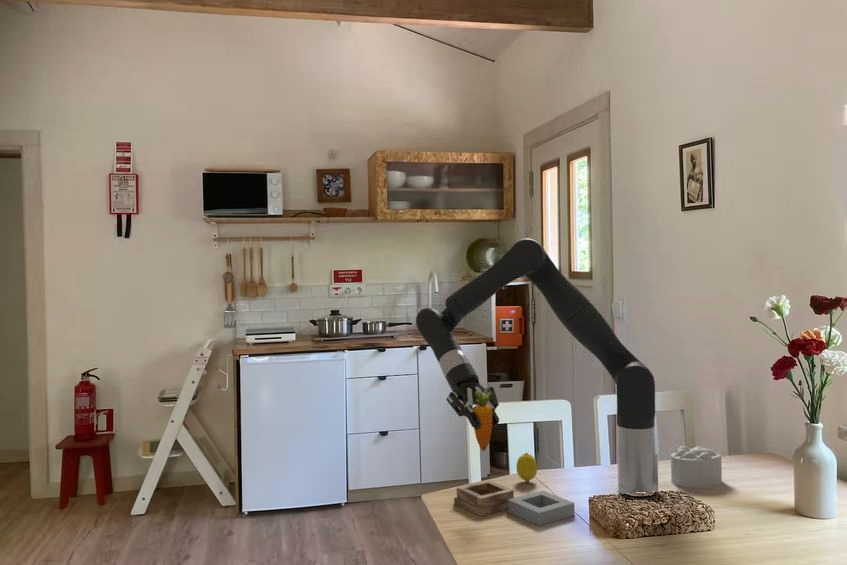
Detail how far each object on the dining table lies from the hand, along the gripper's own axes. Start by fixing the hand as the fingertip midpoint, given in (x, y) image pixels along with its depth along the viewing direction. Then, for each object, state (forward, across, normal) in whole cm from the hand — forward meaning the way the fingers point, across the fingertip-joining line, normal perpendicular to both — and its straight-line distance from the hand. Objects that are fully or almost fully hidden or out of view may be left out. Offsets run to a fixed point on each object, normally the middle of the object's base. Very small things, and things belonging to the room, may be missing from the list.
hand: (487, 425), depth 164 cm
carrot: (+3, 0, +6) cm, 7 cm away
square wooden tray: (+13, 0, +15) cm, 20 cm away
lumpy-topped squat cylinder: (+26, +56, +2) cm, 62 cm away
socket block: (+22, +7, +6) cm, 24 cm away
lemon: (+8, +20, +21) cm, 30 cm away
